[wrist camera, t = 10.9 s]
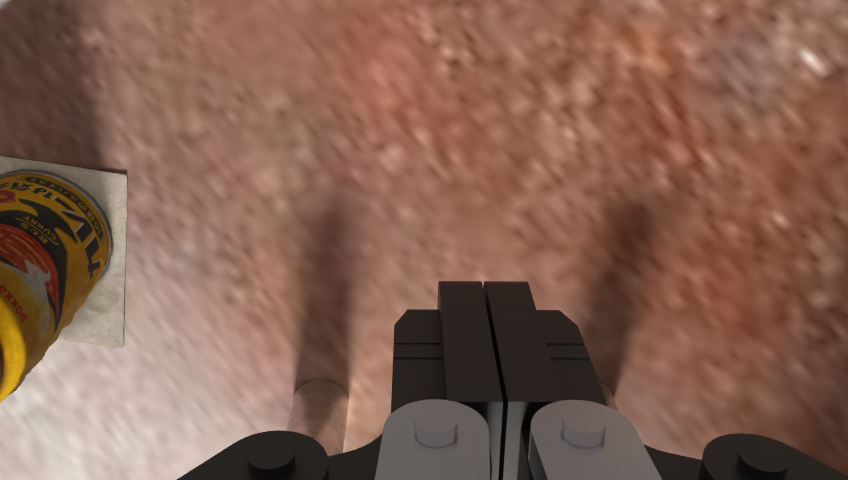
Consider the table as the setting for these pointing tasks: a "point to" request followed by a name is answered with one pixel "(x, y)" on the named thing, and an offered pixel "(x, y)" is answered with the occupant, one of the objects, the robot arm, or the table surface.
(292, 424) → the left post
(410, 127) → the table surface
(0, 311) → the condiment
